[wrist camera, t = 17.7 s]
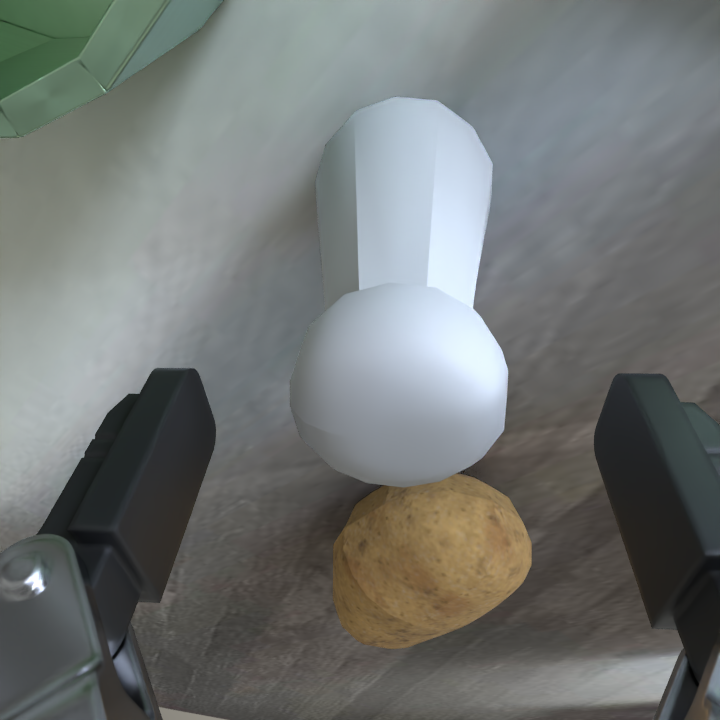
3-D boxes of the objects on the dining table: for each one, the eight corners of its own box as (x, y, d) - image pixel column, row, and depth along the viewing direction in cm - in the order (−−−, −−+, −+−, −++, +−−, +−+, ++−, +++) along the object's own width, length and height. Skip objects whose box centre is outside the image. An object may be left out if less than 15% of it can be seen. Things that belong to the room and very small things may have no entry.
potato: (302, 525, 36) (281, 651, 30) (409, 402, 28) (409, 543, 22) (425, 566, 39) (428, 689, 33) (557, 465, 30) (594, 607, 24)
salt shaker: (409, 34, 17) (409, 238, 7) (517, 163, 19) (630, 447, 9) (292, 164, 20) (180, 433, 10) (399, 261, 22) (391, 553, 12)
